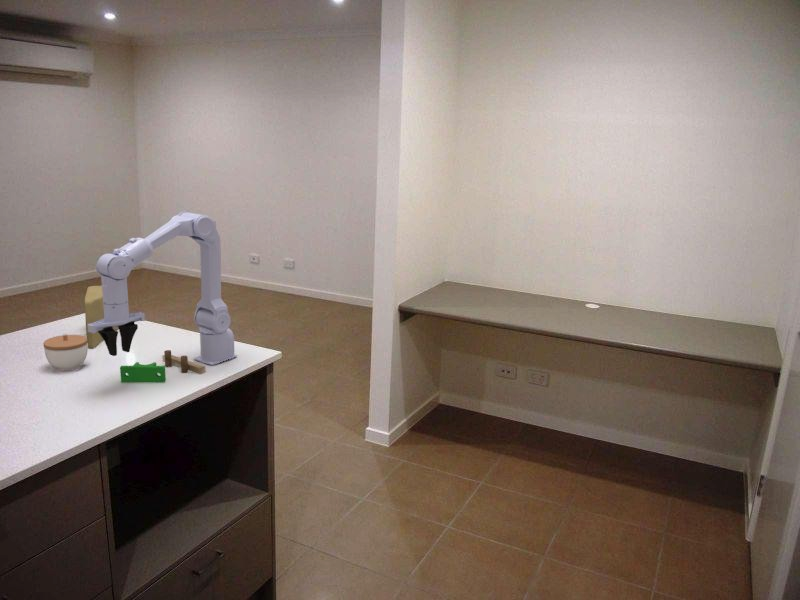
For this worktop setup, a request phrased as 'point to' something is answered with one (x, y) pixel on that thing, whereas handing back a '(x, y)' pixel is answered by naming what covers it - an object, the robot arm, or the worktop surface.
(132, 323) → the robot arm
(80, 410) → the worktop surface
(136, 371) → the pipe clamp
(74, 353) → the lidded jar
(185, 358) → the peg rack
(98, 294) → the cheese
